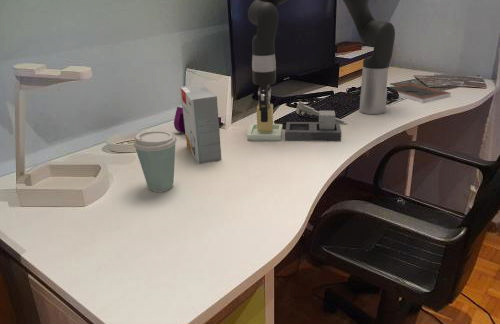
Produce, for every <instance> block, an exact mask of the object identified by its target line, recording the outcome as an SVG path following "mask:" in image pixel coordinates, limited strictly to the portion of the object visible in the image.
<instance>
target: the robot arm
mask: <svg viewBox="0 0 500 324" xmlns="http://www.w3.org/2000/svg"><path fill="white" fill-rule="evenodd" d="M287 1H288V0H253V2H251V4H250V6H249V8H248V11H247V18H248V20H249V22H250V23H251V24H252V25H254V26H256V34H255V35H254V36H253V38H252V41H251V43H252V44H251V45H252V46H251V47H252V49H251V50H252V57H251V59H252V60H251V67H252V83H253V84H254V85H255V86H259V87H258V90H257V97H258V104H259V110H260V111H261V122H267V121H268V104H271V99H272V98H271V96H272V95H271V93H272V88H271V86H272V85H274V84H276V82H277V67H276V66H277V65H276V64H277V63H276V62H277V61H276V46H275V45H276V44H275V41H276V39H275V38H276V35H277V30H278V24H279V12H278V9H277V7H279V5H282V4H284V3H286V2H287ZM342 1H343V3H344V5H345V6H346V9H347V10H348V13H349V14H350V17H351V18H352V20H353V23H354V25H355V28H356V31H357V33H358V36H359V39H360V41H361V42H362V44H364V46H367V47H370V48H373V52H372V54H371V55H370V56H367V57H365V58H364V59H363V60H362V61H363V62H362V72H361V73H362V74H361V86H360V99H359V112H361V113H362V114H366V115H367V114H368V115H379V114H385V113H386V107H387V98H388V93H387V90H388V89H387V87H388V76H389V75H388V74H389V66H390V61H391V59H392V56H393V51H394V46H395V45H394V44H395V37H396V36H395V35H396V31H395V26H394V25H393V23H392V22H390V21H382V20H376V19H375V18H374V17H373V15H372V13H371V10H370V8H369V0H342ZM262 105H265V107H262Z"/></svg>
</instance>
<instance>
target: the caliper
mask: <svg viewBox="0 0 500 324" xmlns="http://www.w3.org/2000/svg"><path fill="white" fill-rule="evenodd" d="M304 102H305V101H304ZM304 102H302V101H301V100H300V101H299V103H297V105H296V108H295V114H296V113H297V114H299V115H301V114H302V115H303V114H304V115H305V114H307V115H310V116H311V117H313V116H316V117H319V111H320V110H319V111H318V110H315V108H313V107H311V106H308V105H306V104H305V103H304ZM304 115H303V116H304ZM335 122H339V123H340V125H344V126H346V125H348V123H347V122H345V120H343V119H341V118H337V117H335Z"/></svg>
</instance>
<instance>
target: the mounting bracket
mask: <svg viewBox="0 0 500 324" xmlns="http://www.w3.org/2000/svg"><path fill="white" fill-rule="evenodd" d="M221 118H222V117H220V116H218V119H219V124H221ZM173 125H174V128H175V130H176V131H177V132H179V133H182V134H185V125H184V116H183V107H180V106H176V111H175V114H174V120H173Z"/></svg>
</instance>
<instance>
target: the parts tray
mask: <svg viewBox="0 0 500 324" xmlns="http://www.w3.org/2000/svg"><path fill="white" fill-rule="evenodd" d="M282 134H283V123H273V130H272V132H257V123H251V124H250V126H249V130H248V132H247V135H246V137H247V142H249V141H253V142H281V140H282Z"/></svg>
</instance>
